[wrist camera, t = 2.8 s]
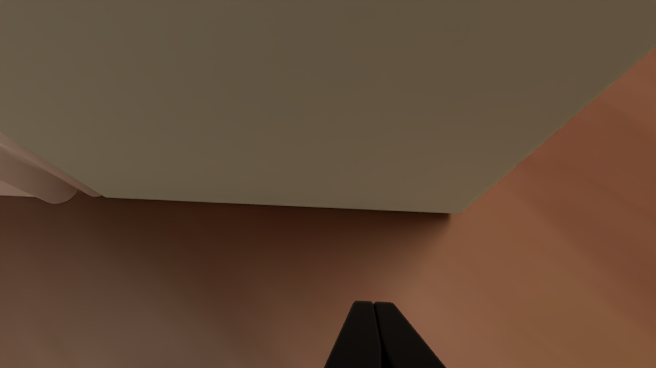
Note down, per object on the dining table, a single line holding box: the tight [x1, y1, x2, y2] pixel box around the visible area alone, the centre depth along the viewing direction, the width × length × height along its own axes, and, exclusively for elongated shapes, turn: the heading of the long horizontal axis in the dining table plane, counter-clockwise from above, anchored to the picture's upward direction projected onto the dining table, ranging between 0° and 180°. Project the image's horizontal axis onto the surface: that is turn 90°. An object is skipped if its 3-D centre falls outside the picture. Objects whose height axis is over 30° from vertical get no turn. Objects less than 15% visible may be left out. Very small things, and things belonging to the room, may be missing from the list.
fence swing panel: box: [0, 0, 656, 214], centre depth 11 cm, size 17×1×12 cm, turn 87°
